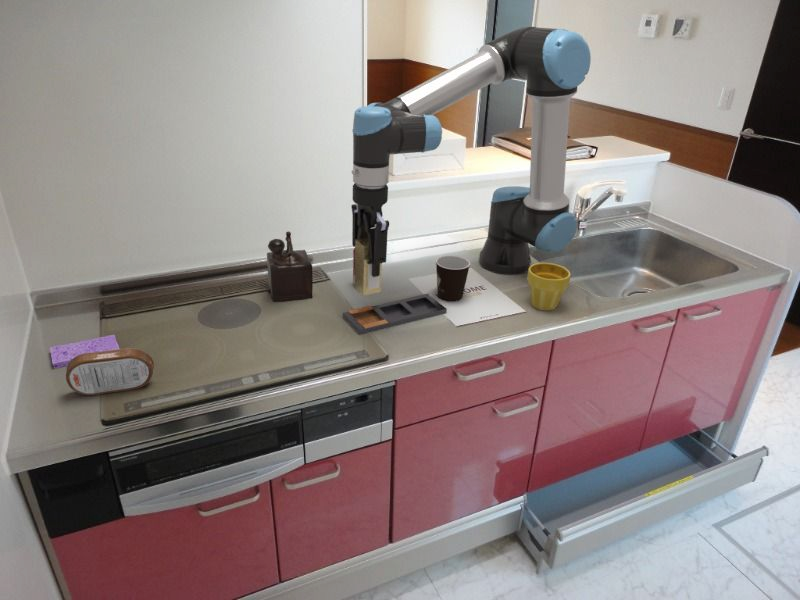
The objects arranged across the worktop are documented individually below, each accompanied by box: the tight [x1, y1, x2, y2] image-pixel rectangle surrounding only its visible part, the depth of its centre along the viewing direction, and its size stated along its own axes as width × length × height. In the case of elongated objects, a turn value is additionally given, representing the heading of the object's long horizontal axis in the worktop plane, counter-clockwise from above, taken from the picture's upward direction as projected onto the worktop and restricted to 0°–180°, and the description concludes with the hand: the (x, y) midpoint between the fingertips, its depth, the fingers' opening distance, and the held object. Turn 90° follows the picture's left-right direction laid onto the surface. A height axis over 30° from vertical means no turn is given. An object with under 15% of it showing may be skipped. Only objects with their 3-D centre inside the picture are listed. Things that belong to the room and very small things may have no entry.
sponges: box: [49, 334, 121, 370], centre depth 123 cm, size 7×13×2 cm, turn 121°
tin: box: [65, 347, 155, 396], centre depth 111 cm, size 15×3×8 cm, turn 108°
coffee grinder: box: [266, 231, 314, 302], centre depth 146 cm, size 16×11×18 cm
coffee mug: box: [435, 255, 471, 303], centre depth 152 cm, size 12×9×10 cm
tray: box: [342, 293, 448, 336], centre depth 142 cm, size 24×9×2 cm, turn 120°
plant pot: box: [527, 262, 571, 311], centre depth 150 cm, size 10×10×10 cm
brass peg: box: [354, 238, 383, 297], centre depth 132 cm, size 4×4×12 cm
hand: (367, 283), depth 134 cm, fingers closed on brass peg, 4 cm apart
